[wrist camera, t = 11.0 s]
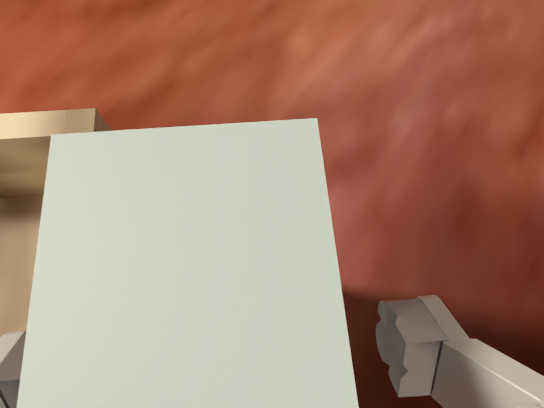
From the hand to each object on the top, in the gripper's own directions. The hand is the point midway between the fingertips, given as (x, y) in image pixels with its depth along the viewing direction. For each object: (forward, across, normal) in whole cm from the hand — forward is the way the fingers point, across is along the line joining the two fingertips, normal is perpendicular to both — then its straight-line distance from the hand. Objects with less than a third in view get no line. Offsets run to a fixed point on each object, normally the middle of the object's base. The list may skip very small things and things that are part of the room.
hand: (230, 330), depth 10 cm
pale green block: (+6, 0, +7) cm, 9 cm away
